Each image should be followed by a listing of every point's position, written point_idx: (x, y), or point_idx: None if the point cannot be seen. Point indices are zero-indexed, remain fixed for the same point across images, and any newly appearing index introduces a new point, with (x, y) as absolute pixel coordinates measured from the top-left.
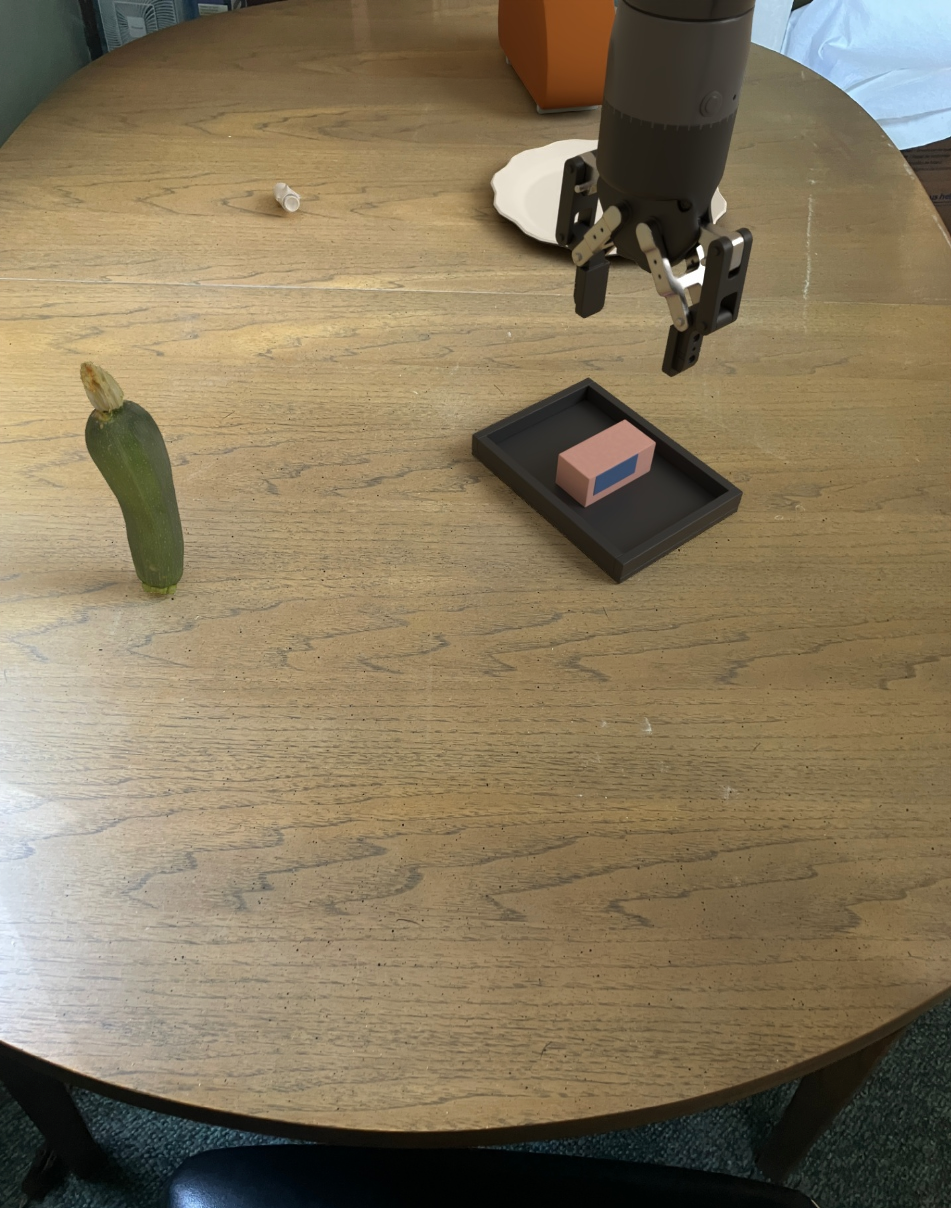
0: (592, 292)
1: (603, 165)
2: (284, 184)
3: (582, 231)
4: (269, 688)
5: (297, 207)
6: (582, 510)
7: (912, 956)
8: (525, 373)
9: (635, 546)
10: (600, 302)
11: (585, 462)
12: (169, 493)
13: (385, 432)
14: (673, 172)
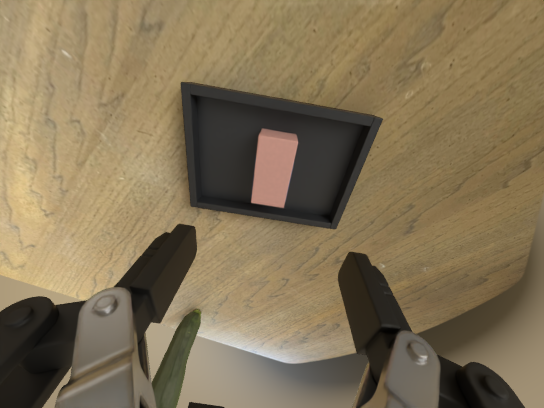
0: (179, 270)
1: None
2: None
3: (54, 358)
4: (256, 313)
5: None
6: None
7: (510, 279)
8: (133, 96)
9: (328, 199)
10: (189, 239)
11: (270, 197)
12: (182, 367)
13: (152, 215)
14: None
